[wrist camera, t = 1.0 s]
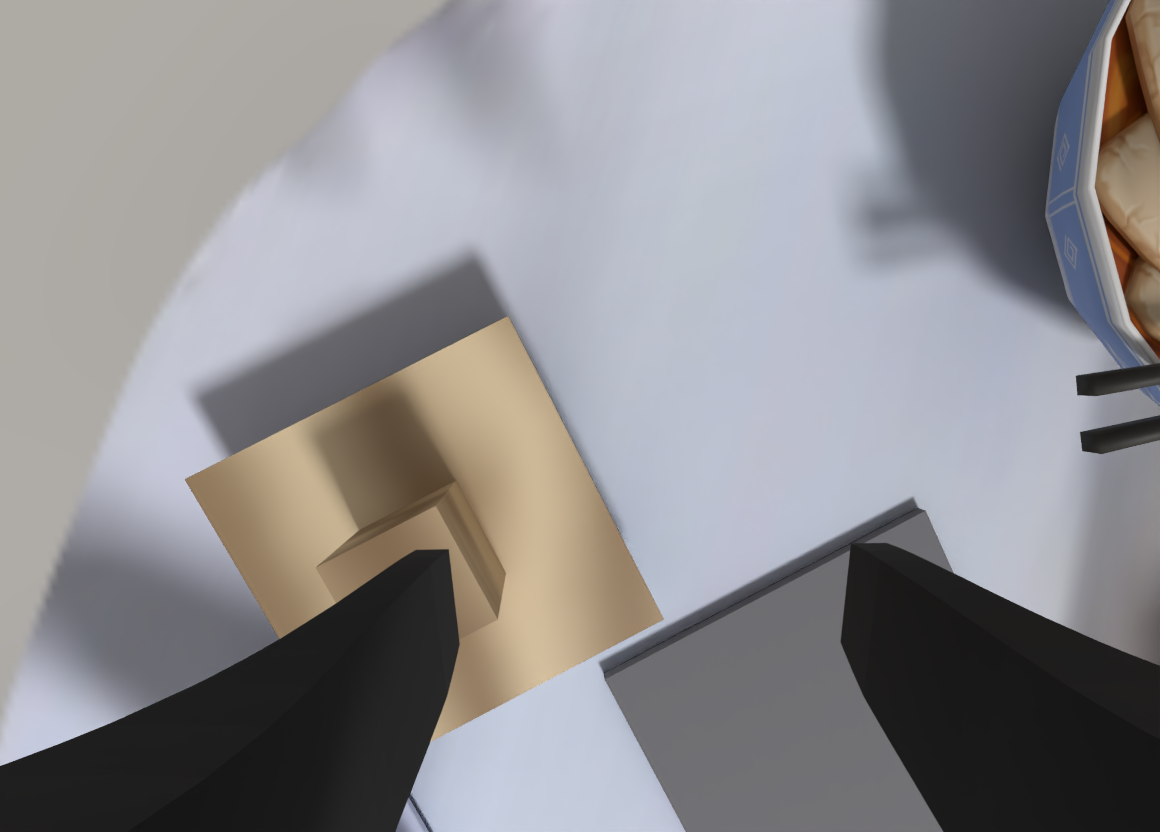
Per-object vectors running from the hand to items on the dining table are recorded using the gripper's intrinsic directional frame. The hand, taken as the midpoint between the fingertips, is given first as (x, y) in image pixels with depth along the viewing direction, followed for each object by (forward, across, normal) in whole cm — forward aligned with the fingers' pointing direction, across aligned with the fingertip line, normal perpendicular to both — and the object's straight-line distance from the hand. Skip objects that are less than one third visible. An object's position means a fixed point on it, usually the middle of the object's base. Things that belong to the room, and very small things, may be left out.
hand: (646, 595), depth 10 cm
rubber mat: (+12, -10, +16) cm, 22 cm away
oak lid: (+10, +7, +5) cm, 13 cm away
